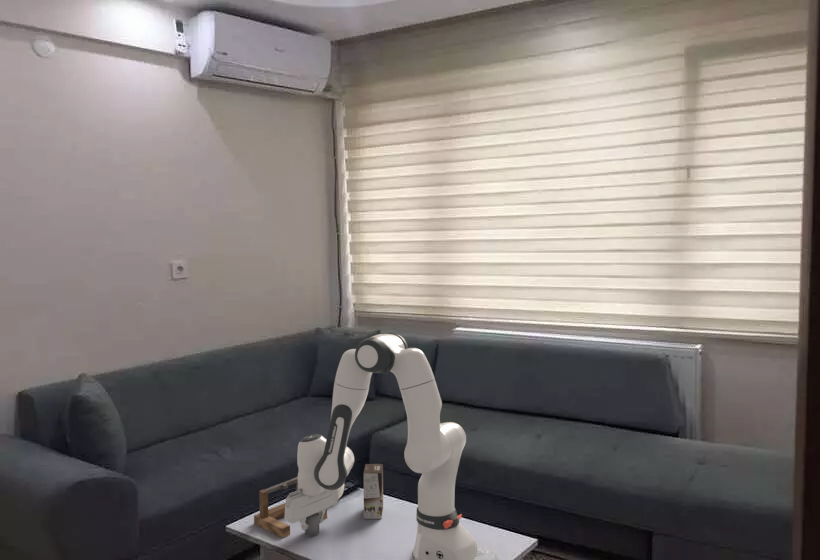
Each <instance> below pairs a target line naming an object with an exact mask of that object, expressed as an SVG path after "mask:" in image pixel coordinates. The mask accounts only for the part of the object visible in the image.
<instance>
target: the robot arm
mask: <svg viewBox="0 0 820 560" xmlns="http://www.w3.org/2000/svg"><path fill="white" fill-rule="evenodd" d="M390 372H391V373H392V374H393V375H394V376H395V378H396V381H397V384H398V387H399V391H400V394H401V398H402V401H403V406H404V409H405V412H406V418H407V442H406V445H405V448H404V453H403V455H404V460H405V463H406V465H407V467H408V468H409V469H410V470H411V471H413V472H414V473H416V474H421V476H420V478H419V480H418V483H417V506H416V519H415V521H416V523H417V527H416V536H415V541H414V545H413V546H414V547H413V549H412V556H413V558H414V560H474V559H475V557H477V555H478V553H479V552H478V551H479V550H478V544H477V540H476V539H475V537H473V536H472V535H471V533H470V532H469V531H468V530H467V529H466V528H465V527H464V526H463V525H462V523H461V522H460V519H462V518H463V514H462V513H460V514H459V515H458V512H457V510H456V507H455V497H456V496H455V491H456V490H455V489H456V480H457V474H458V469H459V466H460V460H461V457H462V453H463V450H464V449H465V448H464V447H465V446H466V443H467V435H466V432H465V430H464V429H463V427H462V426H461V425H460V424H458V423H456V422H453V421H449V422H448V421H446V422H441V420H440V419H441V417H440V416H441V410H442V407H443V401H442V397H441V395H440V392H439V389H438V384H437V382H436V379H435V375H434V372H433V370H432V367H431V365H430V362H429V361H428V359H427V356H426V354H425V353H424V352H423V350H421V349H419V348H417V347H408V343H407V341H406V339H405V338H404V337H403V336H402V335H400V334H397V333H395V332H387V333H384V334H383V333H380V334H379V333H378V334H375V335H372V336H370V337H366V338H364V339H363V340H361V341H360V342H359V344H358V345H357V346H356V348H350V349H348V350H346V351H344V353H343V354H342V356H341V358H340V360H339V364H338V366H337V370H336V373H335V378H334V383H333V389H332V390H333V391H332V402H331V403H332V405H331V414H330V421H329V427H328V432H327V436H326V438H325V437H324V436H323V435H322V434H319V433H315V434H309V435H307V436H304V437H302V438H301V439H300V440H299V442H298V445H297V455H296V456H297V457H296V458H297V459H296V461H297V462H296V463H297V468H298V471H297V472H298V473H297V477H298V490H297V491H296V490H295V491H292V492H290V493H289V494H288V495H287V496H286V498H285V503H286V504H285V516H284V519H285V520H286V521H287V522H289V523H291V524H294V523H296V522H299V523H300V524H301V530H303V531H305V530H307V529H309V527H308V526H309V524H308V523H306V522H305V520H306V517H308V516H310V515H313V514H315V513H317V512H319V525H320V524H322V523H323V521H324V520H323V516H324V514H325V509H328V508H331V507H333V506H335V505H337V504H338V503H339V499H338V488H340V487H341V486H342V485H343V484H344V485H345V483H346V480H347V477H348V476H349V473H350V472H351V469H353V466H354V465H355V455H354V453H353V451H352V449H351V448H350V447H348V440H349V436H350V432H351V429H352V426H353V424H354V422H355V421H356V419H357V417H358V416H359V414H360V413H361V411H362V409H363V408H364V406H365V403H366V400H367V397H368V394H369V390H370V384H371V378H372V375H373V373H374V374H389V373H390Z"/></svg>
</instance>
